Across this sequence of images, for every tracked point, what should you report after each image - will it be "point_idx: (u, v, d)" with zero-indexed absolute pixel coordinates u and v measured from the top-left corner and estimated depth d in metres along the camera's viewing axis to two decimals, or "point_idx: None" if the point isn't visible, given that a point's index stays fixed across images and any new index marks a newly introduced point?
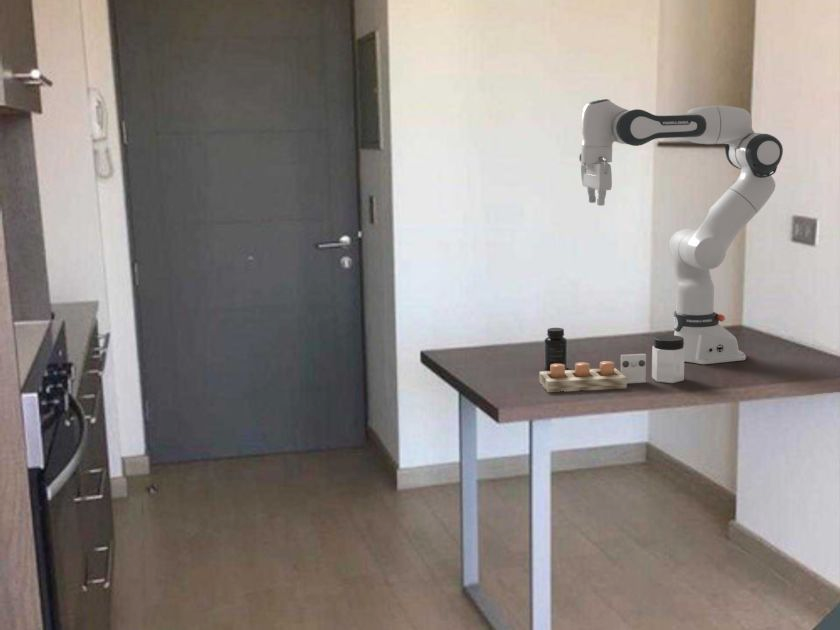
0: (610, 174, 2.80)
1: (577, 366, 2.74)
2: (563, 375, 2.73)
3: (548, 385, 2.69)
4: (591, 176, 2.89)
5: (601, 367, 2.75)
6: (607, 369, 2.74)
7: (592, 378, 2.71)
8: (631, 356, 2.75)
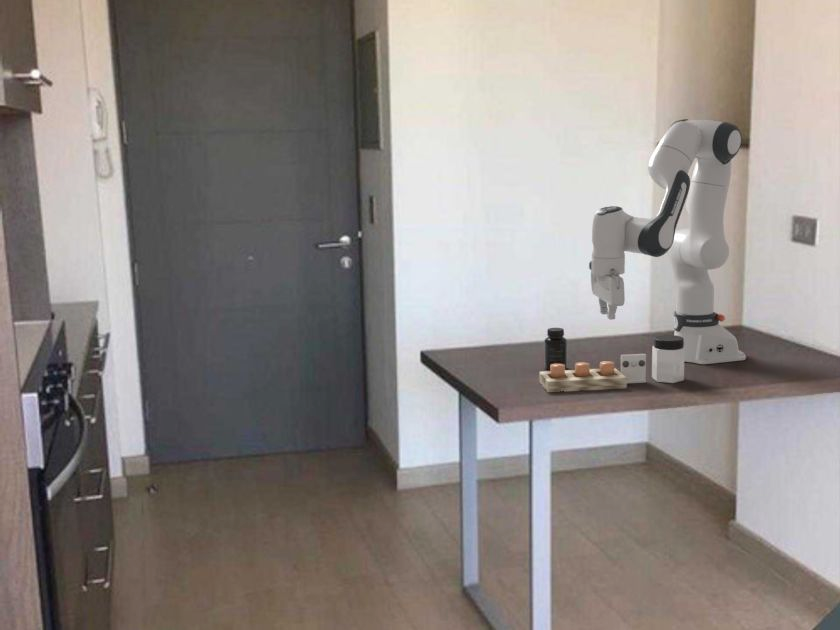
0: (623, 289, 2.62)
1: (577, 366, 2.74)
2: (563, 375, 2.73)
3: (548, 385, 2.69)
4: (602, 288, 2.70)
5: (601, 367, 2.75)
6: (607, 369, 2.74)
7: (592, 378, 2.71)
8: (631, 356, 2.75)
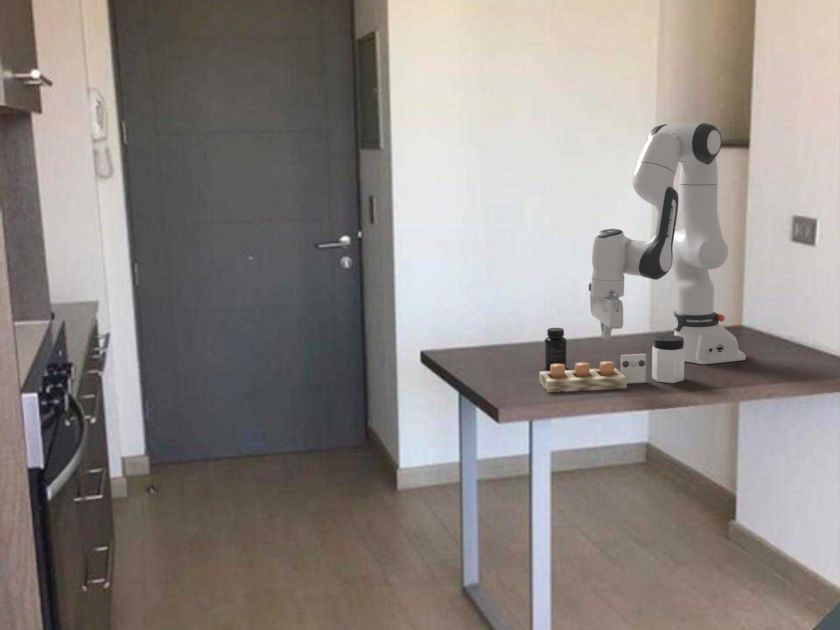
0: (622, 312, 2.63)
1: (577, 366, 2.74)
2: (563, 375, 2.73)
3: (548, 385, 2.69)
4: (601, 310, 2.71)
5: (601, 367, 2.75)
6: (607, 369, 2.74)
7: (592, 378, 2.71)
8: (631, 356, 2.75)
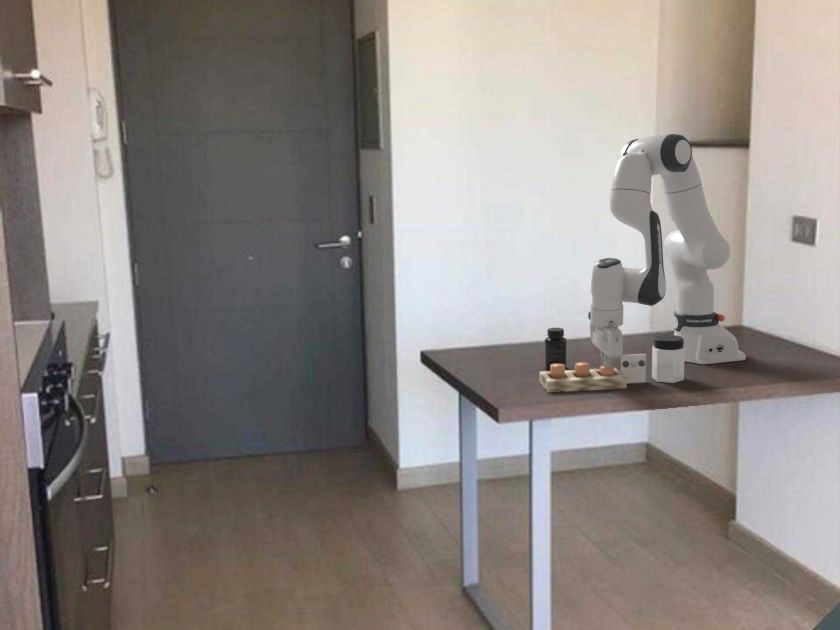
0: (621, 342, 2.64)
1: (577, 366, 2.74)
2: (563, 375, 2.73)
3: (548, 385, 2.69)
4: (601, 338, 2.73)
5: (601, 371, 2.75)
6: (607, 372, 2.74)
7: (592, 378, 2.71)
8: (631, 356, 2.75)
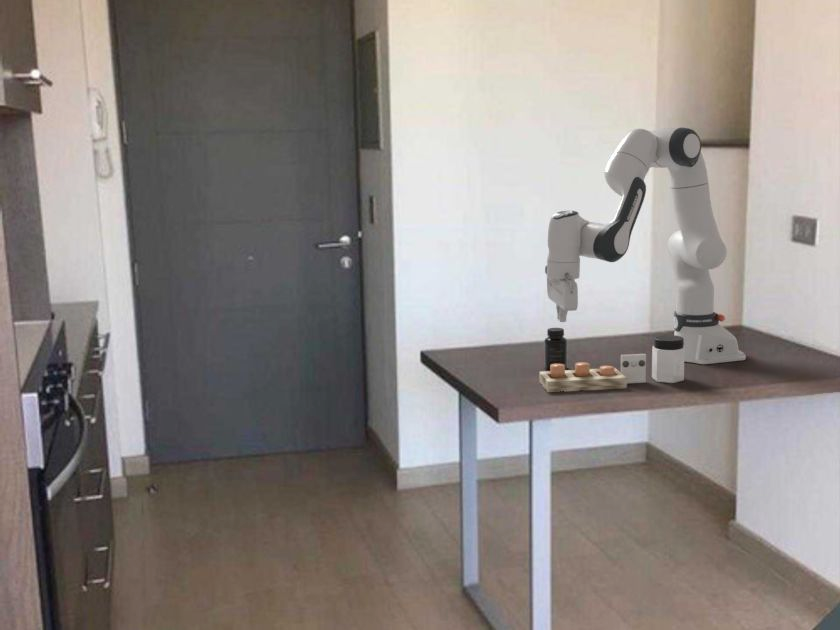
0: (576, 294, 2.60)
1: (577, 366, 2.74)
2: (563, 375, 2.73)
3: (548, 385, 2.69)
4: (556, 292, 2.69)
5: (601, 372, 2.75)
6: (607, 373, 2.74)
7: (592, 378, 2.71)
8: (631, 356, 2.75)
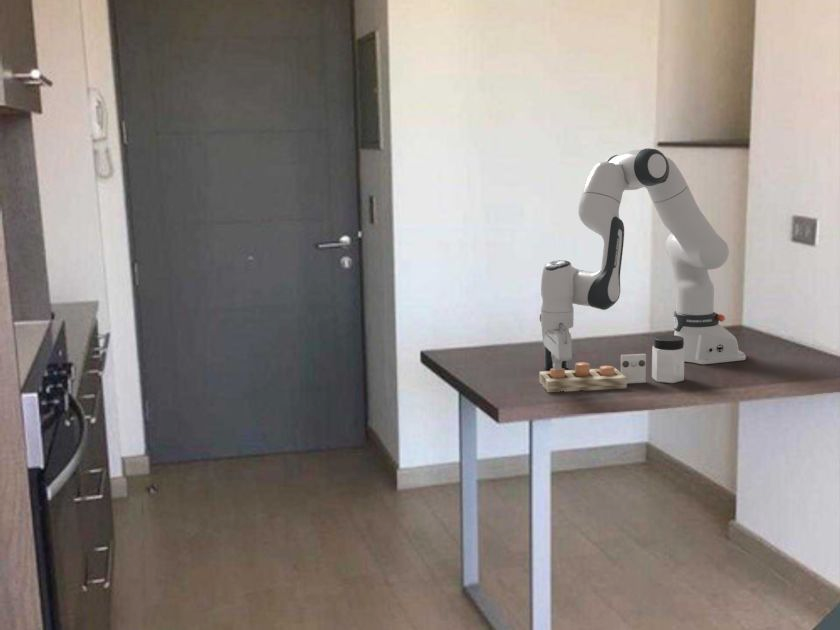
0: (570, 344, 2.63)
1: (577, 366, 2.74)
2: None
3: (548, 385, 2.69)
4: (551, 341, 2.72)
5: (601, 372, 2.75)
6: (607, 373, 2.74)
7: (592, 378, 2.71)
8: (631, 356, 2.75)
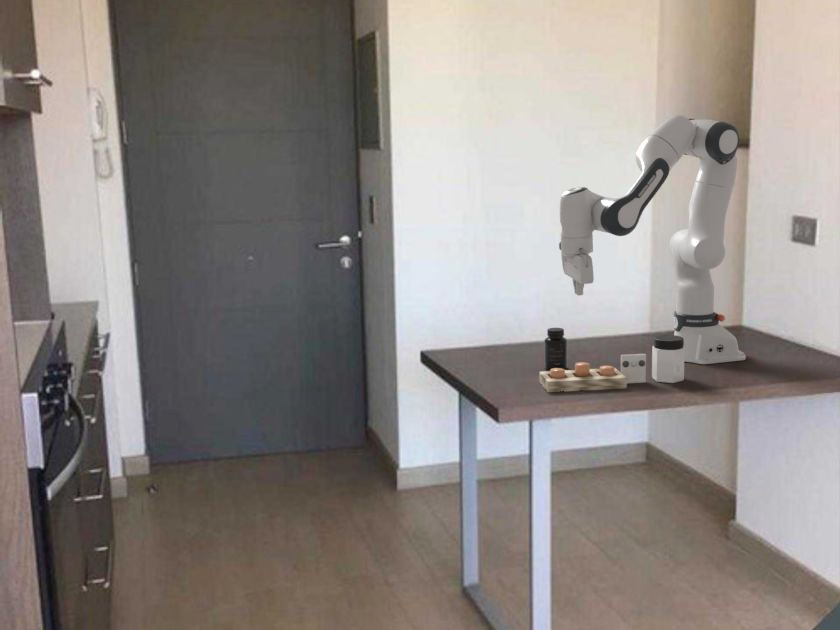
0: (591, 267, 2.69)
1: (577, 366, 2.74)
2: None
3: (548, 385, 2.69)
4: (572, 267, 2.78)
5: (601, 372, 2.75)
6: (607, 373, 2.74)
7: (592, 378, 2.71)
8: (631, 356, 2.75)
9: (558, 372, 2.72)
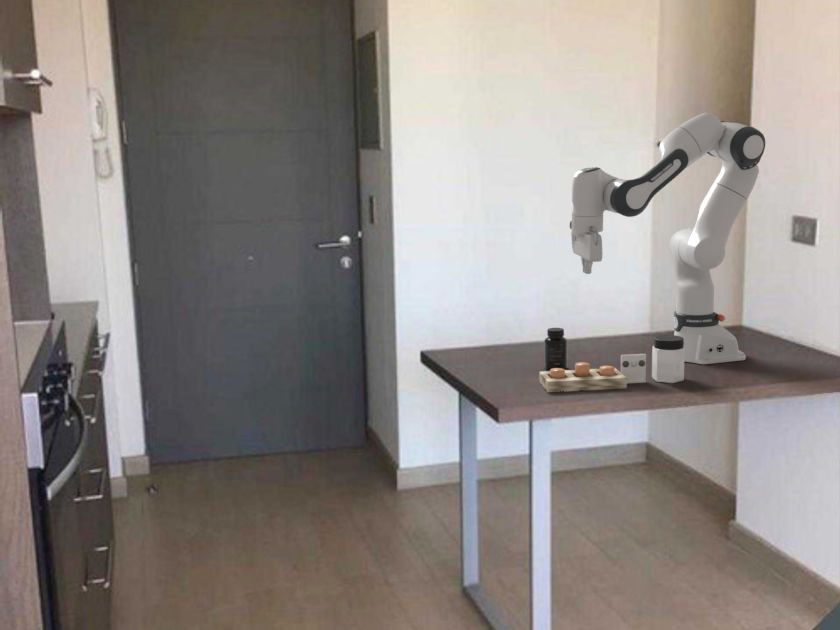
0: (601, 245, 2.74)
1: (577, 366, 2.74)
2: None
3: (548, 385, 2.69)
4: (581, 245, 2.82)
5: (601, 372, 2.75)
6: (607, 373, 2.74)
7: (592, 378, 2.71)
8: (631, 356, 2.75)
9: (558, 372, 2.72)
